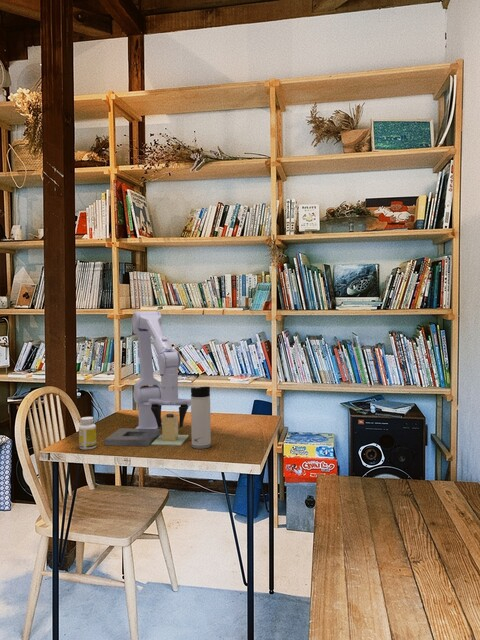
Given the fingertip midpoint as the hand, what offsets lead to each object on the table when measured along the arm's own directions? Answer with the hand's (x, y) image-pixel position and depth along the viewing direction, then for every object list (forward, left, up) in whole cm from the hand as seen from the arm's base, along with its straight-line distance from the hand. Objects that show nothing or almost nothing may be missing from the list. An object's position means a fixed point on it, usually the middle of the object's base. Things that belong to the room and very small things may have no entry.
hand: (170, 426), depth 175 cm
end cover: (0, 0, -4) cm, 4 cm away
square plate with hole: (0, -13, -5) cm, 14 cm away
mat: (0, 0, -5) cm, 5 cm away
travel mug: (+6, +12, -5) cm, 15 cm away
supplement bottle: (+10, -25, -5) cm, 28 cm away
